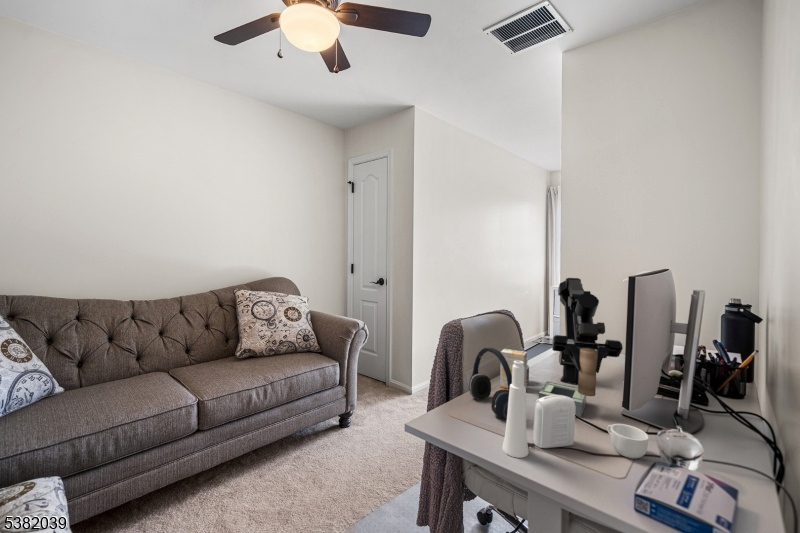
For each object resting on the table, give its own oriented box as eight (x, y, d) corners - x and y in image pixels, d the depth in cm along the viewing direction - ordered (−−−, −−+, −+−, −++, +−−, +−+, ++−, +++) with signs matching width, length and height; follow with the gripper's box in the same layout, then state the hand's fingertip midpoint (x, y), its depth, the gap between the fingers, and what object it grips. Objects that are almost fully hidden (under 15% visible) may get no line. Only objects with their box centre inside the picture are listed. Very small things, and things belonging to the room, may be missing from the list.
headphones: (520, 421, 101) (523, 358, 101) (499, 424, 99) (502, 359, 98) (483, 393, 120) (485, 340, 120) (465, 395, 118) (467, 341, 117)
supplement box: (526, 388, 126) (527, 351, 125) (523, 392, 122) (524, 355, 121) (503, 383, 130) (504, 347, 130) (499, 387, 126) (500, 350, 125)
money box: (546, 394, 121) (546, 381, 120) (585, 403, 114) (586, 389, 114) (538, 406, 111) (538, 392, 110) (581, 417, 104) (581, 402, 104)
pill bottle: (526, 380, 134) (527, 357, 133) (530, 385, 128) (531, 361, 128) (512, 379, 134) (513, 356, 134) (515, 384, 129) (516, 360, 128)
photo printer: (565, 437, 93) (567, 391, 92) (576, 446, 89) (579, 397, 88) (530, 441, 91) (532, 393, 90) (540, 450, 86) (542, 401, 86)
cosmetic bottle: (498, 444, 89) (501, 357, 88) (521, 443, 89) (525, 357, 88) (508, 458, 83) (511, 365, 82) (533, 457, 83) (536, 365, 82)
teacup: (655, 460, 83) (656, 438, 83) (629, 465, 81) (631, 442, 81) (618, 438, 93) (619, 418, 93) (595, 442, 91) (596, 421, 91)
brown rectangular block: (581, 388, 109) (583, 347, 109) (597, 393, 106) (599, 350, 105) (575, 392, 106) (577, 349, 105) (591, 397, 103) (594, 353, 102)
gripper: (554, 309, 111) (556, 354, 102) (622, 314, 105) (632, 362, 96) (551, 328, 119) (553, 372, 110) (614, 334, 113) (622, 380, 104)
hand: (588, 371), depth 104 cm, fingers closed on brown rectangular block, 5 cm apart
